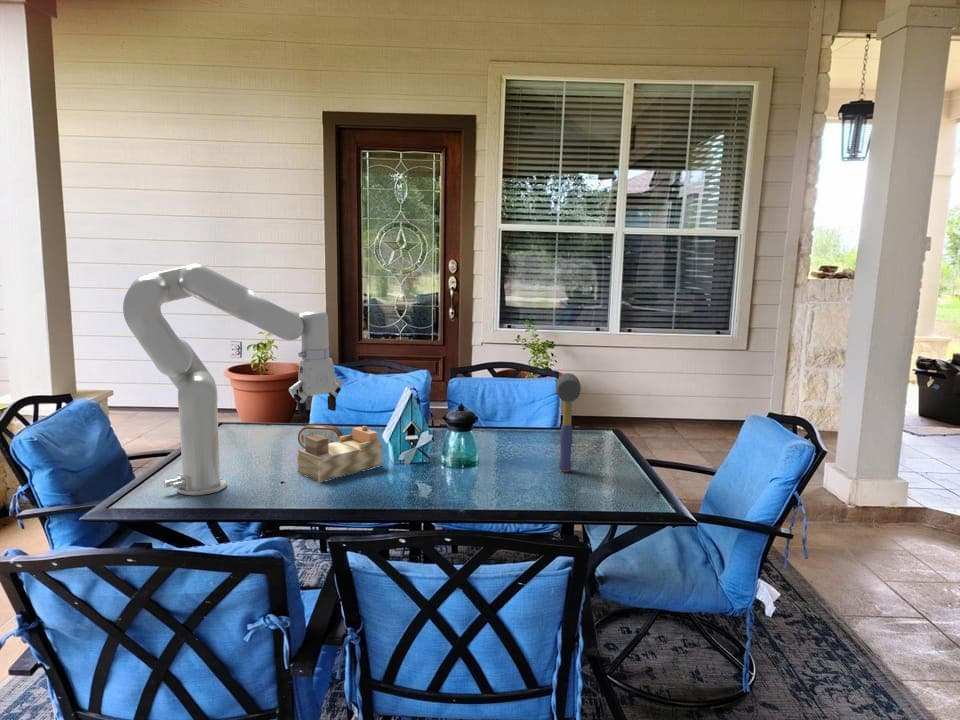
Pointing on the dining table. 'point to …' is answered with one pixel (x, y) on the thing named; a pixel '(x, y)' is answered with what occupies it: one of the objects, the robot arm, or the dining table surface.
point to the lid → (325, 449)
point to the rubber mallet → (567, 416)
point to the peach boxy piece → (364, 434)
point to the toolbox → (343, 461)
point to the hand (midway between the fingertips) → (317, 412)
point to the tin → (319, 433)
